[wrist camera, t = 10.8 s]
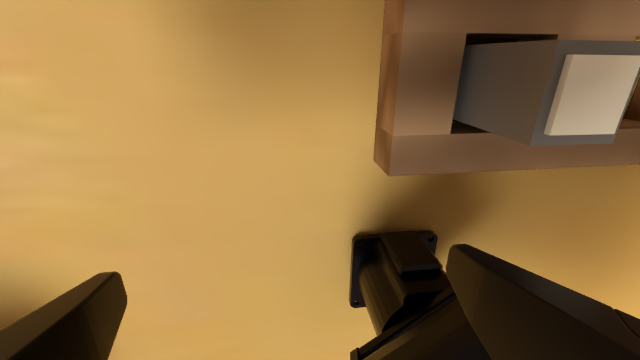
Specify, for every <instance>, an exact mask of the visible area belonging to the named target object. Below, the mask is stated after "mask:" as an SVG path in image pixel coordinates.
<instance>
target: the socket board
mask: <svg viewBox="0 0 640 360" xmlns="http://www.w3.org/2000/svg"><path fill="white" fill-rule="evenodd" d="M466 37H512V38H517V39H516V42H526V41H542V40H603V41H635V39H640V0H385V10H384V23H383V37H382V51H381V64H380V78H379V92H378V105H377V119H376V133H375V146H374V161H375V162H376V163H377V164H378V165H379V167H380V168H381V169H382V170H383V171H384V172H385V173H386V174H387V175H388V176H405V175H426V174H446V173H467V172H488V171H508V170H529V169H550V168H570V167H591V166H612V165H633V164H640V79H639V82H638V84H637V87H636V90H635V92H634V95H633V98H632V100H631V103H630V106H629V108H628V111H627V113H626V116H625V118H624V119H622V121H621V124H620V126H619V129H618V131H617V134H616V137H615V139H614V142H613V144H580V145H545V146H528V145H525V144H522V143H519V142H517V141H514V140H511V139H508V138H505V137H502V136H499V135H497V134H494V133H491V132H488V131H485V130H482V129H479V128H477V127H474V126H471V125H468V124H465V123H452V119H453V113H454V107H455V101H456V95H457V89H458V83H459V77H460V71H461V65H462V59H463V53H464V47H465V41H466Z"/></svg>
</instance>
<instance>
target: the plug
mask: <svg viewBox="0 0 640 360" xmlns="http://www.w3.org/2000/svg"><path fill="white" fill-rule="evenodd" d="M639 74H640V41H603V40H542V41H526V42H509V43H493V44H476V45H465V47H464V53H463V59H462V65H461V71H460V77H459V83H458V89H457V95H456V101H455V107H454V113H453V119H454V120H457V121H459V122H462V123H465V124H468V125H471V126H474V127H477V128H479V129H482V130H485V131H488V132H491V133H494V134H497V135H499V136H502V137H505V138H508V139H511V140H514V141H517V142H519V143H522V144H525V145H528V146H545V145H580V144H613V142H614V139H615V137H616V134H617V131H618V129H619V126H620V124H621V121H622V118H623V116H624V113H625V110H626V108H627V105H628V103H629V100H630V97H631V95H632V92H633V90H634V87H635V84H636V82H637V79H638V76H639Z"/></svg>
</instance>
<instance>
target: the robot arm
mask: <svg viewBox="0 0 640 360" xmlns="http://www.w3.org/2000/svg"><path fill="white" fill-rule="evenodd" d="M431 236H432V237H431ZM429 237H431V238H430V239H428V238H429ZM358 242H362V243H361V244H359V245H358V244H357V243H358ZM436 244H437V235H436V234H435V233H434V232H433V231H418V232H415V231H405V232H391V233H383V234H377V235H363V236H356V237H355V238H354V239H353V241H352V253H351V273H350V293H349V302H350V305H351V307H353V308H360V307H367V310H368V313H369V315H370V318H371V321H372V324H373V326H374V329H375V332H376V335H377V337H375V338H374V339H372V340H371V341H369V342H368V343H366V344H365V345H363V346H362V347H360V348H356V349H354V350H353V351H352V352H350V360H640V319H638V318H636V317H633V316H631V315H629V314H626V313H624V312H622V311H620V310H617V309H613V308H612V307H610V306H608V305H606V304H603V303H601V302H599V301H596V300H594V299H592V298H589V297H587V296H585V295H583V294H580V293H578V292H576V291H573V290H571V289H569V288H566V287H564V286H562V285H559V284H557V283H555V282H553V281H550V280H548V279H546V278H543V277H541V276H539V275H536V274H534V273H532V272H529V271H527V270H525V269H523V268H520V267H518V266H516V265H513V264H511V263H509V262H506V261H504V260H502V259H500V258H497V257H495V256H493V255H490V254H488V253H486V252H483V251H481V250H479V249H476V248H474V247H472V246H470V245H467V244H457V245H452V246H451V247H450V250H449V255H448V260H447V265H446V273H445V271H444V270H443V269H442V268H443V266H442V264H441V263H440V262H439V260H438V259H437V258H436V257H435V249H436ZM354 301H356V302H354ZM126 306H127V295H126V291H125V288H124V284H123V281H122V278H121V275H120V274H119V273H118V272H103V273H99V274H97V275H95V276H93V277H92V278H90V279H88V280H87V281H85V282H83V283H81V284H80V285H78V286H76V287H75V288H73V289H71V290H69V291H68V292H66V293H64V294H63V295H61V296H59V297H57V298H56V299H54V300H52V301H51V302H49V303H47V304H45V305H44V306H42V307H40V308H39V309H37V310H35V311H33V312H32V313H30V314H28V315H27V316H25V317H23V318H22V319H20V320H18V321H16V322H15V323H13V324H11V325H10V326H8V327H6V328H4V329H3V330H1V331H0V360H108V357H109V355H110V352H111V349H112V346H113V343H114V340H115V338H116V335H117V332H118V329H119V326H120V323H121V320H122V318H123V315H124V312H125V309H126Z"/></svg>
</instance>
